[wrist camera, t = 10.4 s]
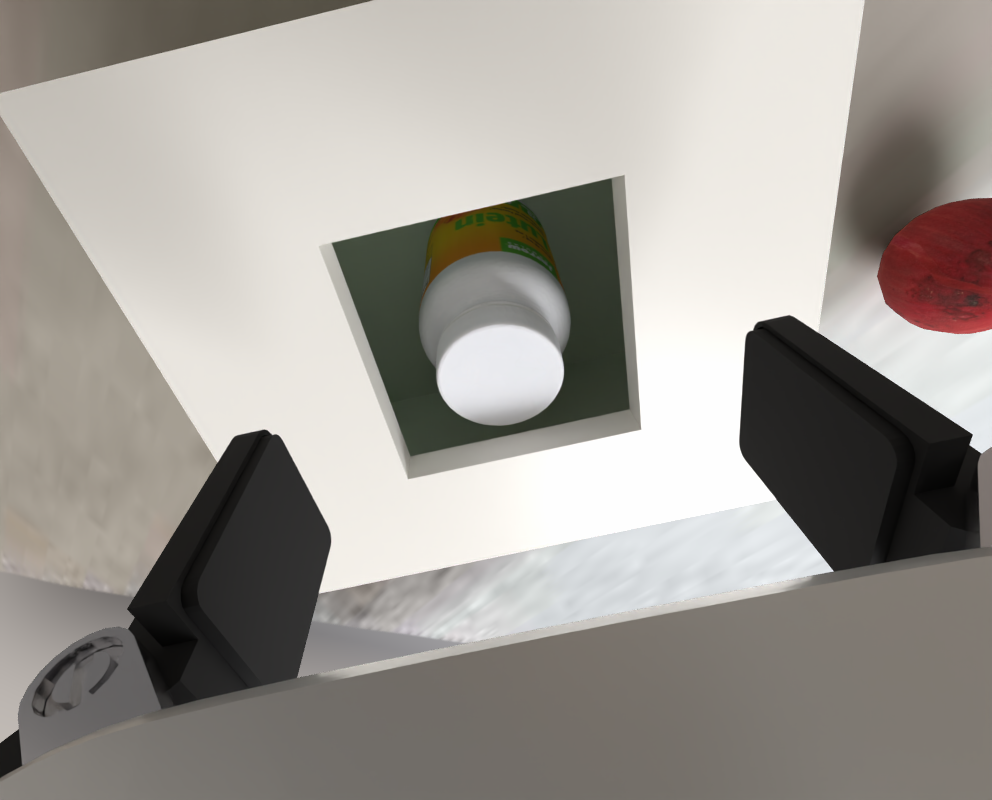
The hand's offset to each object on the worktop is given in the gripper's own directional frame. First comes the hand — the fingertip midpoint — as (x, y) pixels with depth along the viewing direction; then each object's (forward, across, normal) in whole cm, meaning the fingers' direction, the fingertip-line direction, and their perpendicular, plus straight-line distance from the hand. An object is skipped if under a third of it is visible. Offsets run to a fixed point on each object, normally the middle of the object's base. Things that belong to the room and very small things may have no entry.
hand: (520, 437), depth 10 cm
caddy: (+16, 0, 0) cm, 16 cm away
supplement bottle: (+15, 0, 0) cm, 15 cm away
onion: (+17, -21, +5) cm, 27 cm away
